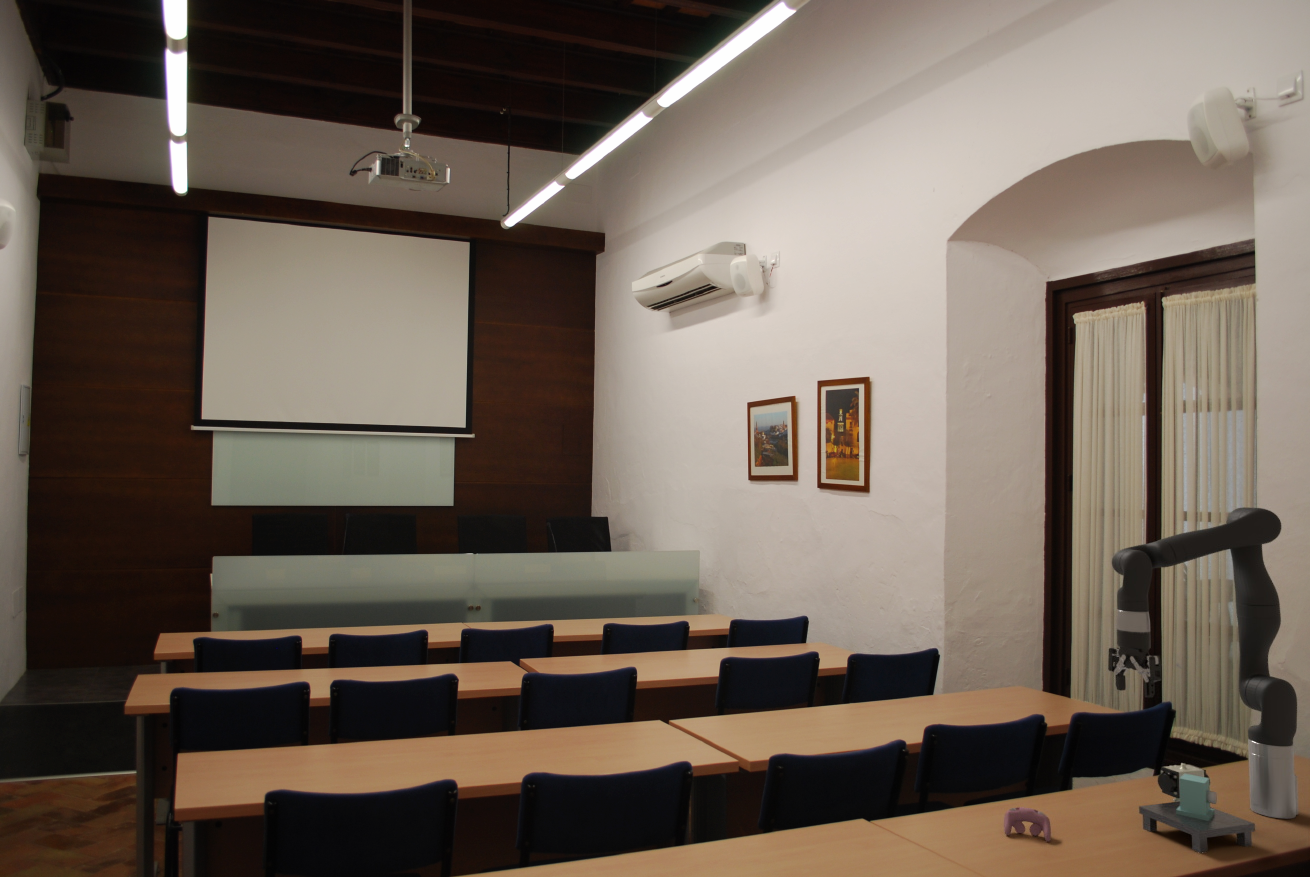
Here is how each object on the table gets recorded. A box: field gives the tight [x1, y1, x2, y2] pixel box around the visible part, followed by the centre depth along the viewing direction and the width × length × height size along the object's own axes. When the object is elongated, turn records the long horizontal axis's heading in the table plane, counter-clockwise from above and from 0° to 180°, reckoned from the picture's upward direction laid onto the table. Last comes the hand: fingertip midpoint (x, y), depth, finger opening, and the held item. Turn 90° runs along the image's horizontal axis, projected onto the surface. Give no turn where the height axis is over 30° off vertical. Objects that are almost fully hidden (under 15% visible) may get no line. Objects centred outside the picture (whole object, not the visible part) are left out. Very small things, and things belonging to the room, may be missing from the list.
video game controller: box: [1003, 806, 1052, 843], centre depth 201 cm, size 10×5×7 cm, turn 66°
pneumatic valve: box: [1157, 762, 1211, 802], centre depth 217 cm, size 6×12×12 cm, turn 106°
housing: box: [1176, 774, 1218, 821], centre depth 202 cm, size 6×7×8 cm
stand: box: [1138, 801, 1256, 854], centre depth 201 cm, size 16×16×5 cm
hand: (1134, 693), depth 222 cm, fingers open, 8 cm apart
